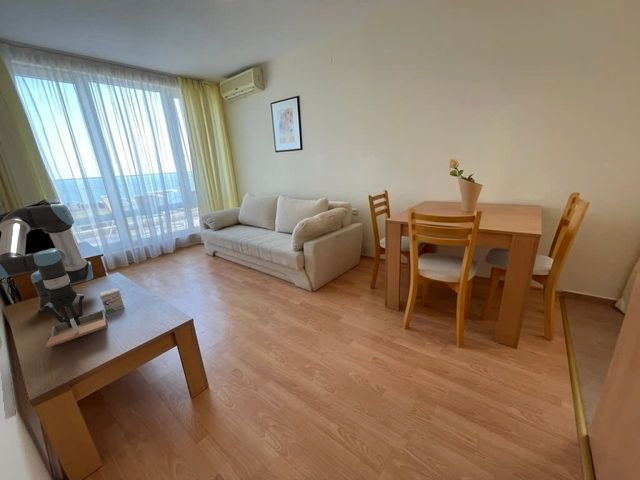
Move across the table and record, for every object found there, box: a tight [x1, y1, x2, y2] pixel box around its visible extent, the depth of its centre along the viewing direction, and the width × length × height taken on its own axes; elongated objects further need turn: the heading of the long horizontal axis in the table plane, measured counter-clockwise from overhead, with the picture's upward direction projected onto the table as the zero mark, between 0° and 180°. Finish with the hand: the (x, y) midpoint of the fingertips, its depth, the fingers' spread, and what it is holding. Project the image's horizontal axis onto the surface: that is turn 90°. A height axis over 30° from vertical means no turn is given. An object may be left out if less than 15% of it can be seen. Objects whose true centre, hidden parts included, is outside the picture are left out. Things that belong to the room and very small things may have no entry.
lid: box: [44, 319, 107, 349], centre depth 118 cm, size 13×20×1 cm, turn 133°
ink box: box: [99, 287, 125, 314], centre depth 146 cm, size 8×5×12 cm, turn 135°
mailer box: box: [50, 309, 109, 347], centre depth 129 cm, size 13×20×4 cm, turn 133°
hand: (77, 332), depth 116 cm, fingers closed
